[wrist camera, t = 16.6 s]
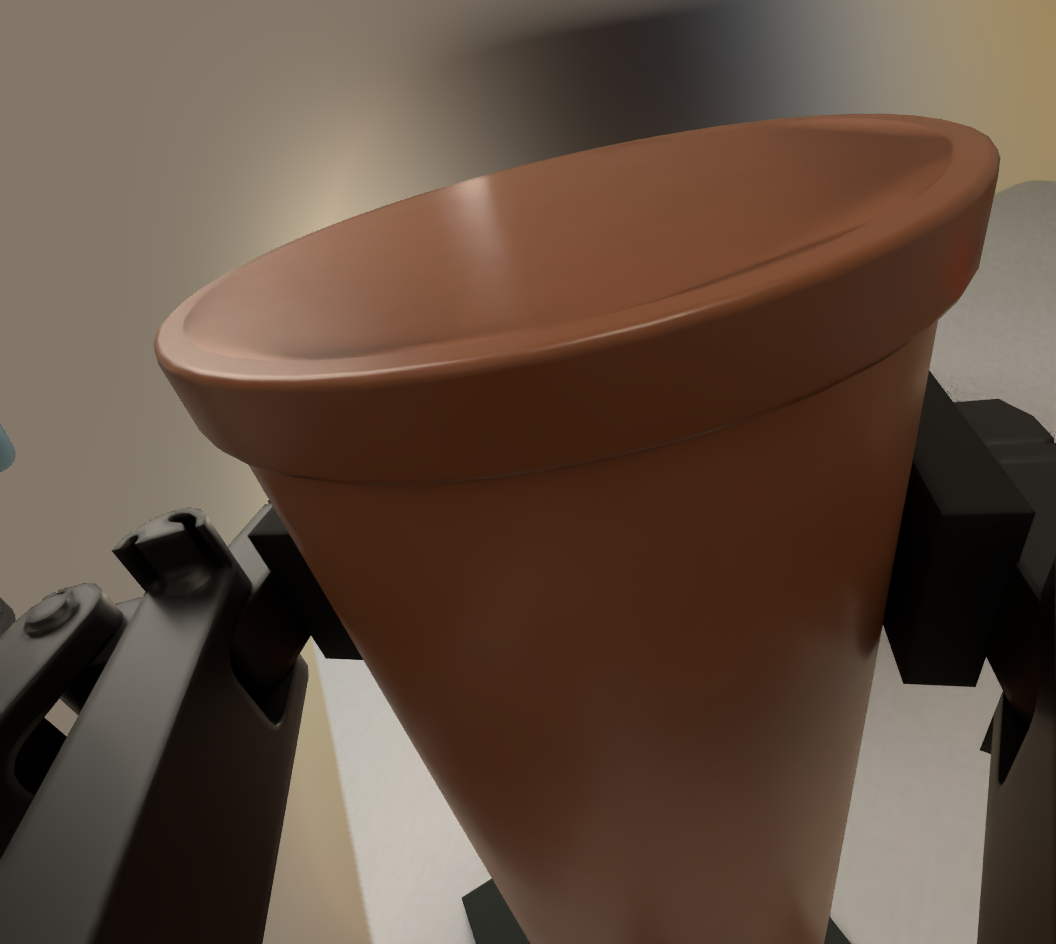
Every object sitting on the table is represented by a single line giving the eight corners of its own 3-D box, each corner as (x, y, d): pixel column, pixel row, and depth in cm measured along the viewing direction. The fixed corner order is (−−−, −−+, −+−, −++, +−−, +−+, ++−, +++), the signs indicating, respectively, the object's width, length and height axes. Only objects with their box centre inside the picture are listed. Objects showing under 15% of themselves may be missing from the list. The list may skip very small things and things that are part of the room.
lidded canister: (441, 896, 15) (33, 339, 6) (604, 659, 19) (492, 162, 11) (768, 1196, 10) (838, 520, 2) (878, 784, 14) (1042, 72, 6)
